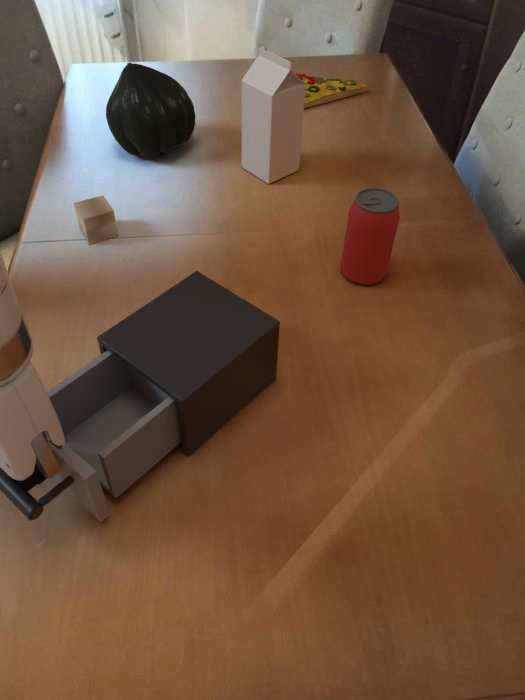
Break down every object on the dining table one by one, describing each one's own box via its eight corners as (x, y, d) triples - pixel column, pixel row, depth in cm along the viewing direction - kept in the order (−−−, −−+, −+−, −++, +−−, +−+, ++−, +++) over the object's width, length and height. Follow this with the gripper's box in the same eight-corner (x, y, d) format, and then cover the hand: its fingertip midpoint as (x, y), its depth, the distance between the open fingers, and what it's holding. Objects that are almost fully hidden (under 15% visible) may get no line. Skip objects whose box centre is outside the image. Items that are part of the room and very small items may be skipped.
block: (89, 244, 88) (83, 218, 84) (79, 228, 90) (73, 202, 87) (118, 236, 89) (113, 210, 86) (108, 220, 92) (103, 195, 89)
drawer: (57, 560, 54) (36, 520, 49) (-13, 486, 59) (-40, 442, 54) (200, 435, 64) (196, 389, 59) (129, 380, 69) (120, 333, 63)
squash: (217, 130, 101) (181, 41, 98) (137, 157, 95) (96, 63, 92) (191, 154, 114) (158, 76, 111) (119, 179, 108) (83, 97, 105)
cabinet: (188, 457, 63) (182, 401, 56) (111, 395, 69) (96, 337, 62) (276, 379, 71) (280, 321, 64) (200, 328, 76) (196, 270, 69)
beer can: (331, 263, 86) (342, 190, 77) (371, 253, 88) (385, 181, 79) (354, 291, 82) (367, 218, 73) (395, 280, 84) (413, 207, 75)
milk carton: (268, 185, 100) (273, 68, 86) (241, 167, 103) (241, 53, 90) (299, 171, 103) (308, 56, 89) (271, 154, 107) (276, 42, 93)
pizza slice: (264, 81, 128) (264, 66, 126) (357, 76, 131) (359, 62, 128) (278, 114, 117) (279, 99, 115) (379, 108, 120) (381, 93, 118)
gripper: (-132, 318, 43) (-45, 456, 57) (-15, 433, 37) (51, 557, 51) (-37, 269, 47) (23, 409, 61) (83, 366, 41) (120, 497, 55)
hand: (35, 476), depth 56 cm, fingers closed
